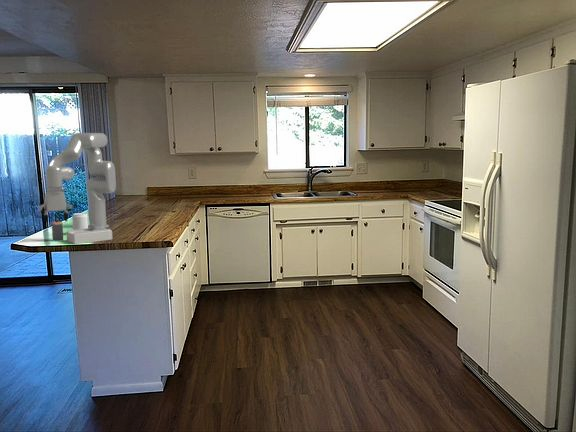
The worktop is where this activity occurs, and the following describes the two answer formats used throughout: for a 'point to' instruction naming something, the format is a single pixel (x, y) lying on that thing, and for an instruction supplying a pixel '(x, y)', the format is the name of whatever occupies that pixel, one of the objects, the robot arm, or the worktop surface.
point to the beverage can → (80, 221)
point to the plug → (57, 230)
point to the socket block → (88, 235)
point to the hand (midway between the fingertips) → (56, 221)
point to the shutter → (94, 227)
